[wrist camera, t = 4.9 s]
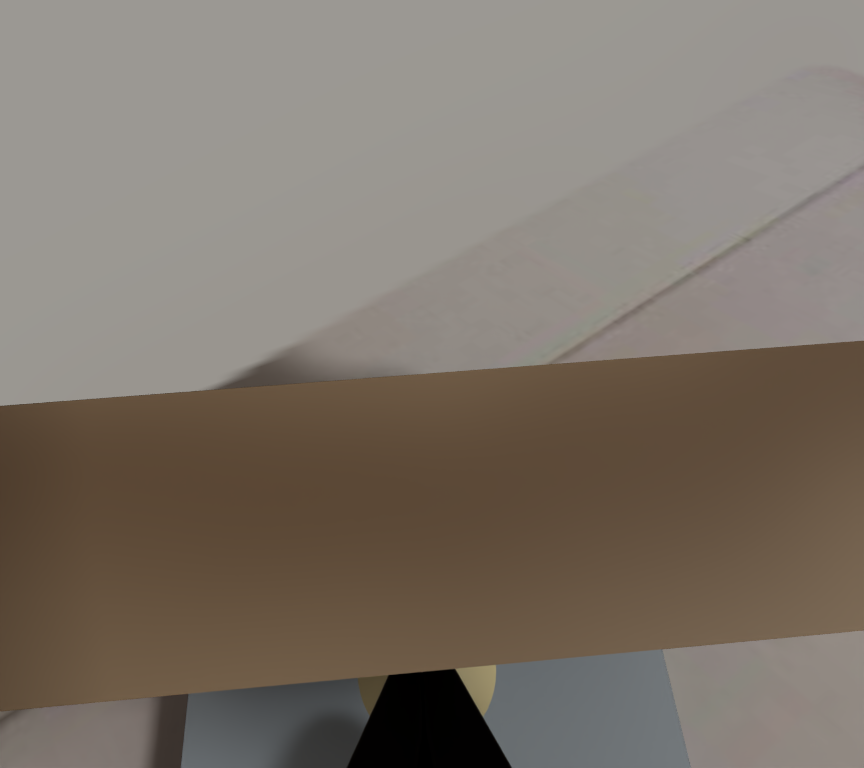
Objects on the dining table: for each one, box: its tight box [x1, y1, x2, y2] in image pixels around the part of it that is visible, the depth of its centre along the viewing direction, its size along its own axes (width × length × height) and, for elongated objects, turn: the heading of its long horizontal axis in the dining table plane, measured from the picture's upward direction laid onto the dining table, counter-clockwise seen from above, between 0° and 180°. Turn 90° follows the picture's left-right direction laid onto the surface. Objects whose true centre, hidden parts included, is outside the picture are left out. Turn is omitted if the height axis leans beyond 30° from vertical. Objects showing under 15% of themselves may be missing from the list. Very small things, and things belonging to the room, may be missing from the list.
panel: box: [0, 341, 864, 711], centre depth 10 cm, size 3×12×11 cm, turn 95°
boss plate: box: [181, 649, 691, 768], centre depth 12 cm, size 13×13×6 cm
